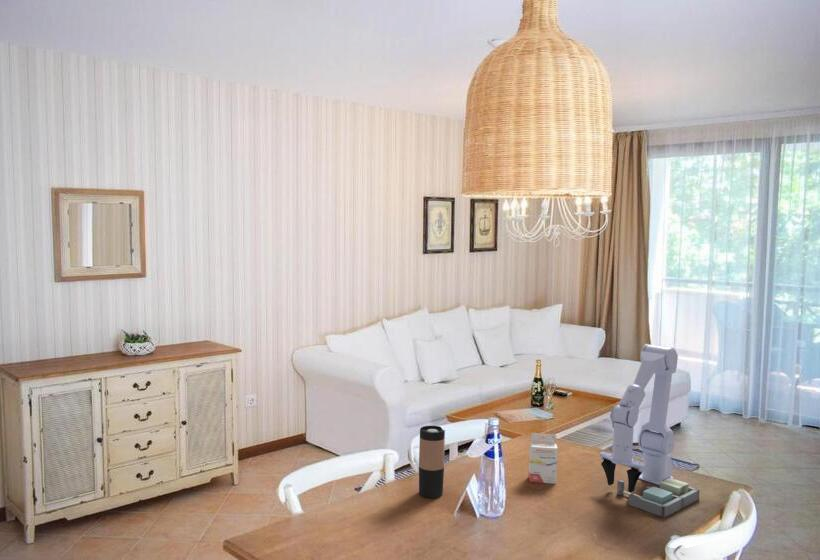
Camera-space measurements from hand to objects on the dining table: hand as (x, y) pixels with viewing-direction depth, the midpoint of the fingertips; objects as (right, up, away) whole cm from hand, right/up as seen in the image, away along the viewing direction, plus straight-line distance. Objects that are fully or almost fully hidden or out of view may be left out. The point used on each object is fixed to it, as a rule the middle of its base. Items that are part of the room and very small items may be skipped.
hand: (620, 487), depth 204 cm
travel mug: (-58, -1, -3) cm, 59 cm away
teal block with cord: (+5, -2, -5) cm, 7 cm away
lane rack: (+12, -3, -6) cm, 13 cm away
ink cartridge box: (-22, -1, +10) cm, 24 cm away
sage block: (+15, -3, -3) cm, 16 cm away
